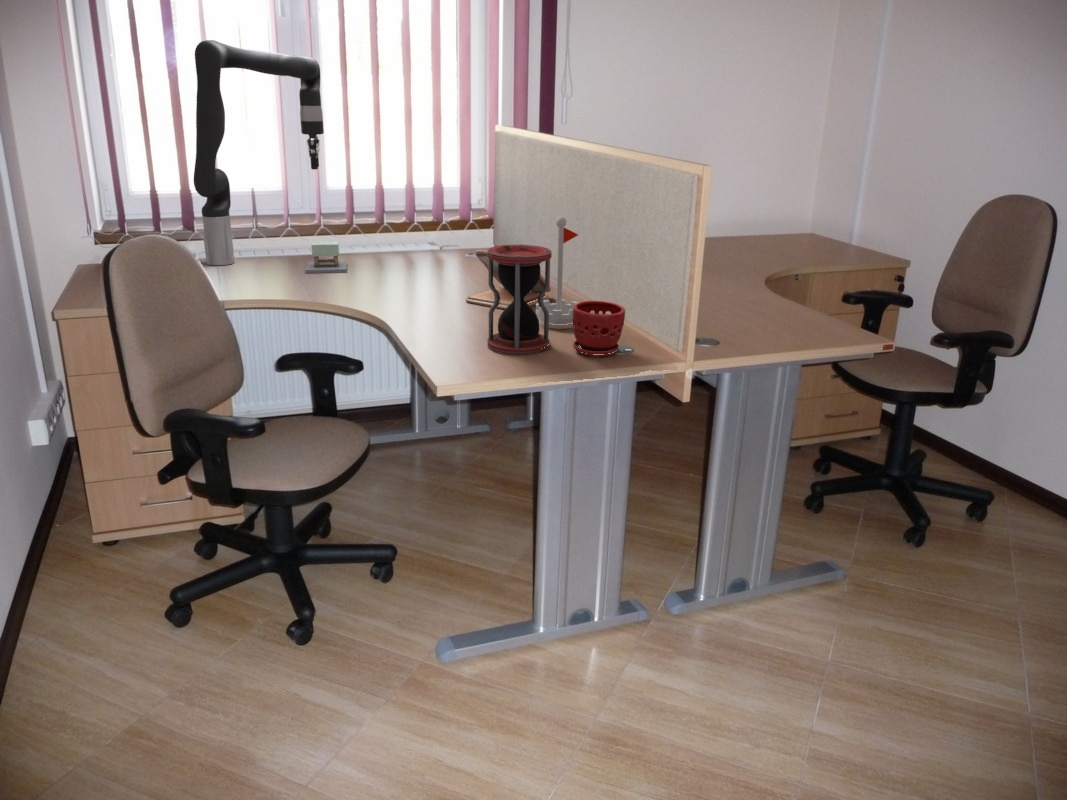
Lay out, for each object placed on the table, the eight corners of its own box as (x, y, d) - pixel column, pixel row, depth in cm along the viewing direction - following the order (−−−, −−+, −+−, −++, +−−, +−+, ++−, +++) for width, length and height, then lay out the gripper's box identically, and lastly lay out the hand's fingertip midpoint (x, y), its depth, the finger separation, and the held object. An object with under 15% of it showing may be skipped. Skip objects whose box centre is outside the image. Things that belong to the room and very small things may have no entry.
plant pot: (568, 358, 214) (570, 311, 209) (574, 343, 226) (576, 298, 222) (621, 361, 212) (623, 314, 208) (624, 346, 224) (626, 301, 220)
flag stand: (543, 331, 236) (545, 221, 226) (530, 318, 248) (531, 213, 237) (587, 328, 240) (592, 219, 229) (572, 316, 251) (576, 212, 241)
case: (553, 299, 271) (554, 248, 265) (516, 312, 254) (516, 259, 249) (501, 290, 281) (500, 241, 276) (461, 303, 265) (460, 251, 259)
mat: (305, 273, 298) (305, 270, 298) (307, 265, 311) (307, 261, 311) (346, 272, 301) (346, 269, 301) (347, 264, 314) (347, 261, 313)
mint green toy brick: (339, 267, 304) (337, 244, 301) (313, 267, 302) (311, 244, 299) (339, 263, 309) (338, 241, 306) (314, 264, 308) (312, 241, 305)
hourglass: (550, 337, 230) (552, 244, 221) (548, 356, 215) (551, 257, 206) (490, 336, 231) (489, 243, 222) (484, 354, 215) (484, 255, 207)
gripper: (322, 120, 289) (325, 170, 295) (323, 118, 303) (326, 166, 308) (299, 120, 288) (302, 170, 294) (301, 118, 301) (305, 166, 307)
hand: (315, 168), depth 301 cm, fingers open, 8 cm apart
